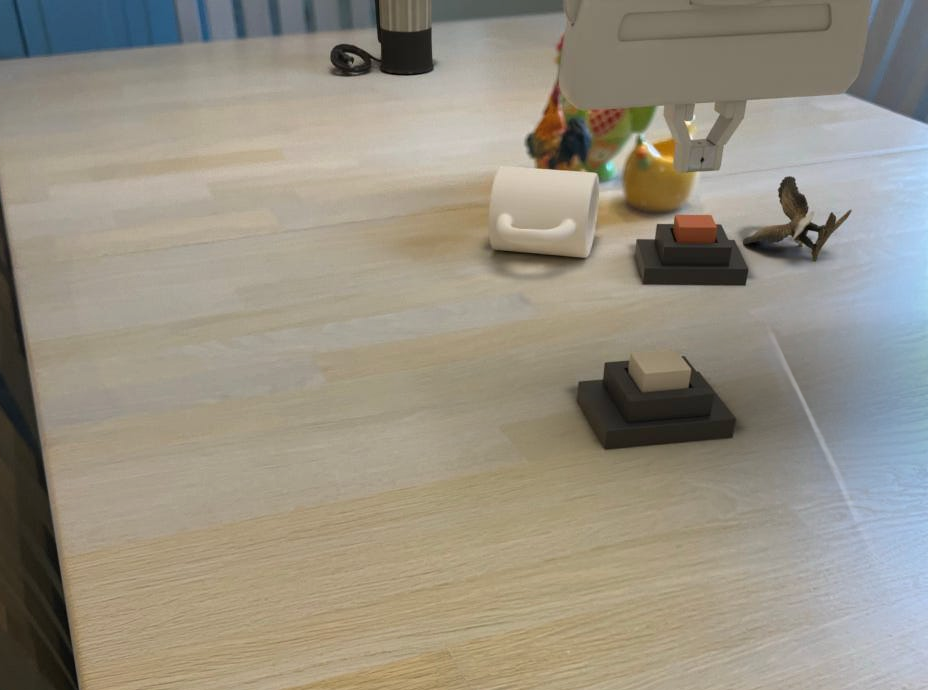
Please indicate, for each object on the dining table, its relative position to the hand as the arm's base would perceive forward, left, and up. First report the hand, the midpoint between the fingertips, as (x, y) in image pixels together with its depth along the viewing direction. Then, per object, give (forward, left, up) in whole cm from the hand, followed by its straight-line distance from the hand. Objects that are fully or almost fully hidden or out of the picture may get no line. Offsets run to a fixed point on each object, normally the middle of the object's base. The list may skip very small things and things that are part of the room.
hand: (696, 170), depth 72 cm
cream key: (+2, +6, -14) cm, 15 cm away
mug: (+10, -28, -17) cm, 34 cm away
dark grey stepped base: (-5, -25, -17) cm, 31 cm away
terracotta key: (-5, -25, -14) cm, 29 cm away
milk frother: (+34, -114, -17) cm, 120 cm away
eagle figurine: (-16, -31, -17) cm, 39 cm away
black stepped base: (+2, +6, -17) cm, 18 cm away
